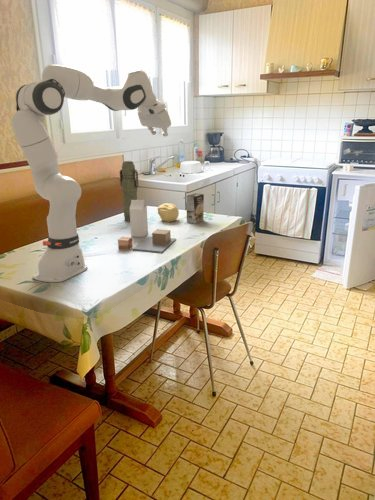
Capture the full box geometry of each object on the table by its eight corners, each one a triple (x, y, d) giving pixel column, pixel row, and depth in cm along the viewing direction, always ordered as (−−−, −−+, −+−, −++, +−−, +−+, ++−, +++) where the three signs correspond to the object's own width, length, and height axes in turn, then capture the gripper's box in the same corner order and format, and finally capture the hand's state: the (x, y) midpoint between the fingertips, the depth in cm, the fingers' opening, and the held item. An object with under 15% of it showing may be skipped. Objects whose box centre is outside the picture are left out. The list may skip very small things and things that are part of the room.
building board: (162, 253, 175) (161, 241, 173) (132, 250, 179) (131, 238, 177) (176, 240, 193) (175, 229, 191) (148, 237, 197) (148, 227, 195)
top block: (128, 250, 179) (127, 240, 177) (118, 249, 180) (117, 239, 179) (132, 247, 184) (132, 237, 182) (123, 246, 185) (122, 236, 183)
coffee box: (195, 223, 221) (195, 196, 215) (186, 222, 224) (186, 195, 219) (203, 220, 228) (203, 194, 222) (195, 219, 231) (195, 193, 226)
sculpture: (155, 221, 227) (154, 203, 224) (167, 217, 236) (167, 200, 233) (170, 224, 221) (170, 206, 217) (182, 219, 230) (182, 202, 227)
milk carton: (144, 237, 197) (142, 201, 191) (131, 236, 199) (128, 201, 192) (148, 233, 204) (146, 198, 198) (135, 232, 205) (133, 198, 199)
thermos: (126, 217, 237) (122, 160, 226) (143, 218, 234) (140, 160, 222) (119, 220, 229) (115, 162, 218) (137, 222, 226) (133, 162, 214)
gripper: (131, 109, 176) (142, 136, 185) (156, 110, 162) (168, 140, 170) (141, 103, 179) (152, 130, 187) (167, 104, 164) (178, 133, 172)
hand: (160, 135), depth 178 cm, fingers open, 8 cm apart
